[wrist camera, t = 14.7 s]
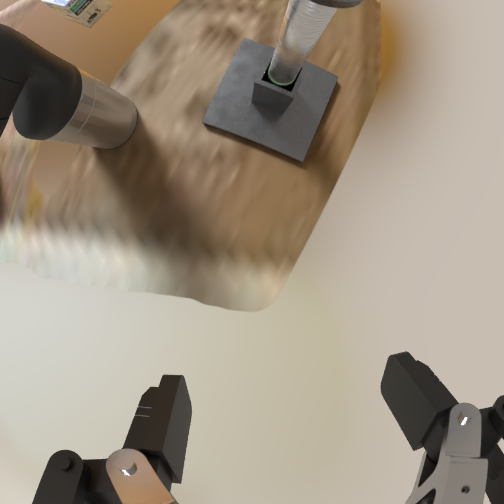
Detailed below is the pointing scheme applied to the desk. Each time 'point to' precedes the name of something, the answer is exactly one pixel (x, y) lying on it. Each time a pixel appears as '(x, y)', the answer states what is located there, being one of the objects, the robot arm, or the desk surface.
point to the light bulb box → (80, 9)
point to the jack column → (300, 36)
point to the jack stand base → (270, 102)
